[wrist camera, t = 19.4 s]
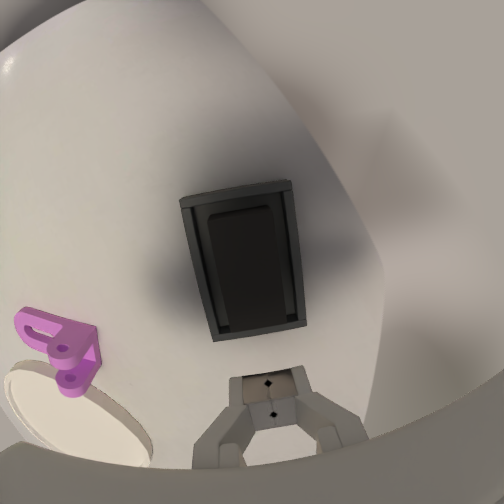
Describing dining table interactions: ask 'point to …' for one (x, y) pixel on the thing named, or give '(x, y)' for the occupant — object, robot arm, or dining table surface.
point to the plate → (75, 418)
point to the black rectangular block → (248, 267)
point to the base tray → (202, 256)
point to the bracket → (63, 348)
